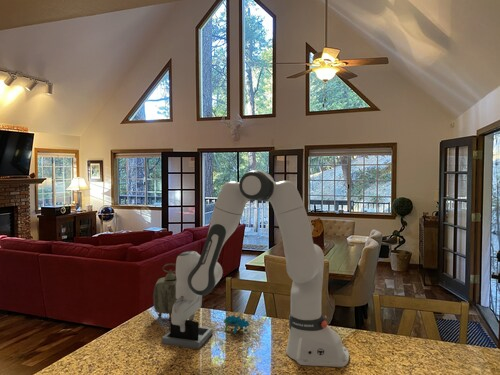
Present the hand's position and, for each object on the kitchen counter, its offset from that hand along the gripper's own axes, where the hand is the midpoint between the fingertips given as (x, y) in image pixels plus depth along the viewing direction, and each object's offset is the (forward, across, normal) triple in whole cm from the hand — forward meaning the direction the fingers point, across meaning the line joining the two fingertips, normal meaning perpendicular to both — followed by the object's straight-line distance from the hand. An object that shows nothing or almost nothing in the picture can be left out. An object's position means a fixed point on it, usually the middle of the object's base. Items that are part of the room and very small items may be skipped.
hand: (187, 327), depth 148 cm
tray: (+5, 0, 0) cm, 5 cm away
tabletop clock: (+5, +16, +16) cm, 23 cm away
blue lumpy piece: (+5, +13, -16) cm, 21 cm away
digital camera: (+4, -1, 0) cm, 5 cm away
